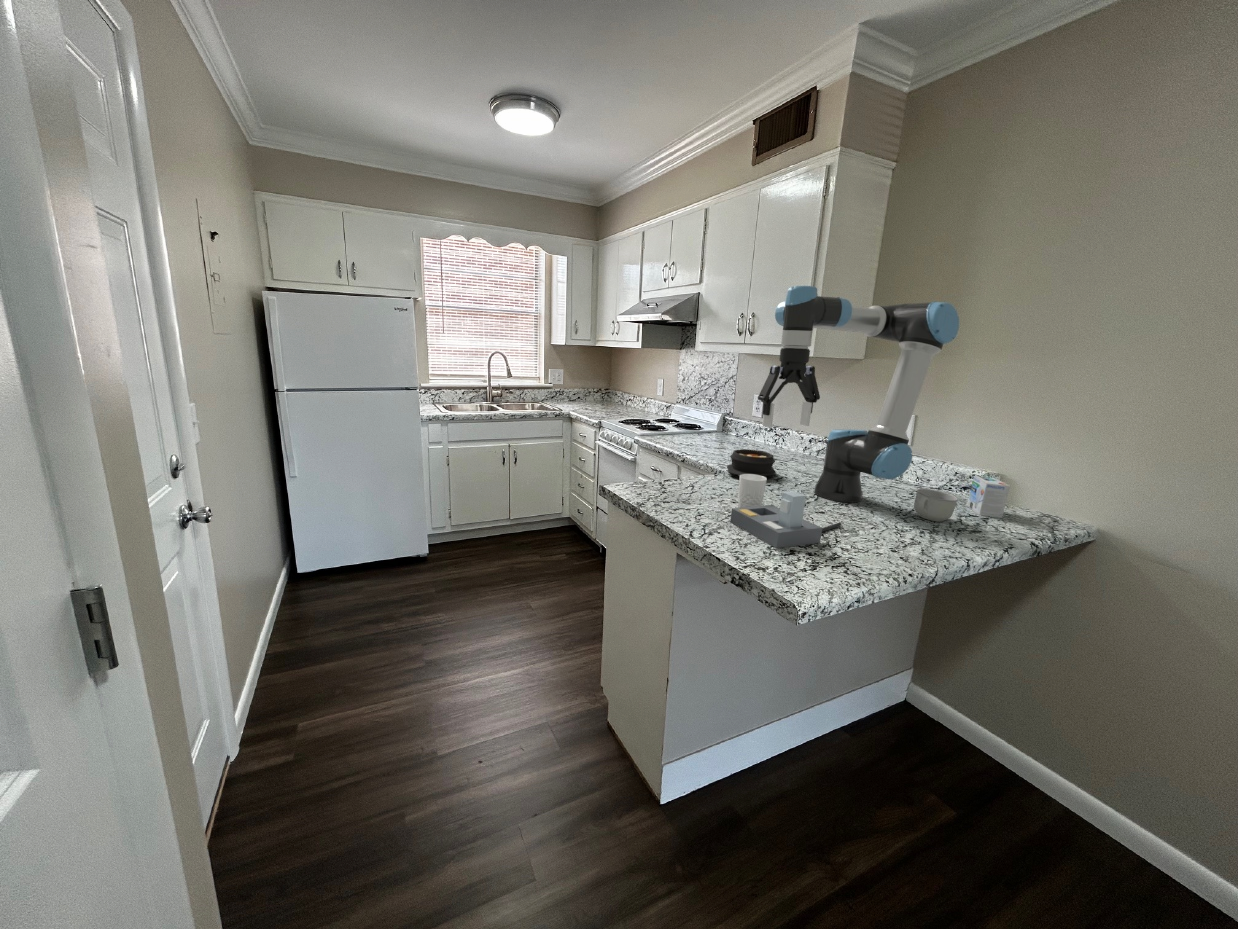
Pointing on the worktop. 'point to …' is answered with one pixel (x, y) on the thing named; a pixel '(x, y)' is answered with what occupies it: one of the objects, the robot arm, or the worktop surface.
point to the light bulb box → (988, 496)
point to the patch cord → (831, 527)
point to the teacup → (934, 504)
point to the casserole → (751, 463)
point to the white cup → (751, 490)
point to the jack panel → (774, 527)
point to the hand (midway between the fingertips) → (786, 426)
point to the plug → (791, 509)
